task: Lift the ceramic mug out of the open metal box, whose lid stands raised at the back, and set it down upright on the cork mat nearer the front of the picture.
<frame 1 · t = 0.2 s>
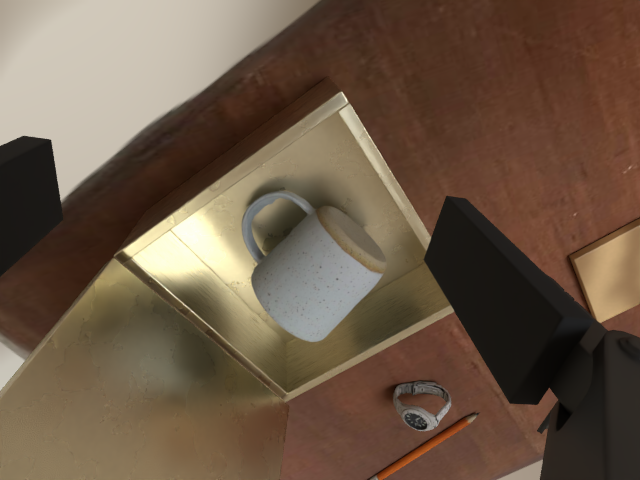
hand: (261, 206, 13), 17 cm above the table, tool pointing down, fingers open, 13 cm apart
wristwatch: (416, 385, 44), on the table
pencil: (419, 445, 50), on the table
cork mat: (630, 264, 38), on the table
open metal box: (302, 235, 33), on the table
ceramic mug: (302, 238, 32), point 1 cm above the table, touching open metal box
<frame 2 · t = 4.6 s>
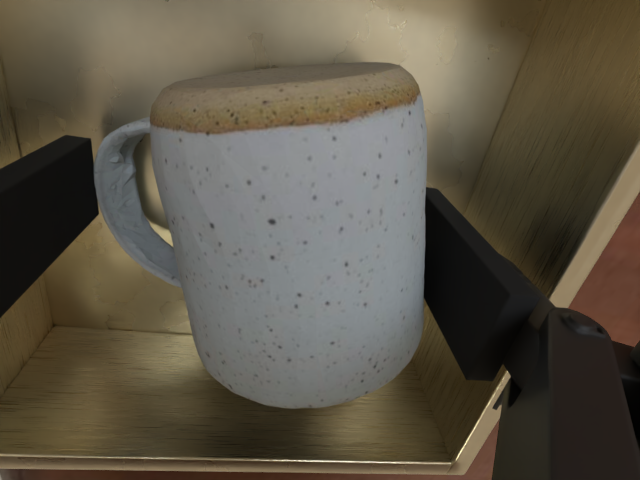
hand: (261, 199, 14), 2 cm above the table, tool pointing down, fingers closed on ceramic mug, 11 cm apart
open metal box: (263, 178, 16), on the table
ceramic mug: (261, 184, 15), point 1 cm above the table, touching gripper, open metal box
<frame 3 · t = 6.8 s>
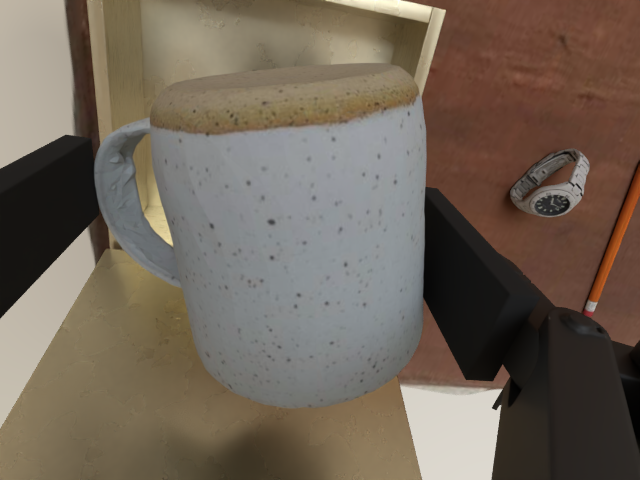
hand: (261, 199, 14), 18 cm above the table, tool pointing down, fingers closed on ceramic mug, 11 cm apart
wristwatch: (535, 174, 34), on the table
pencil: (611, 236, 38), on the table
box lid: (228, 408, 21), point 16 cm above the table, hinge at 100.0°
open metal box: (264, 119, 29), on the table
ceramic mug: (261, 184, 15), point 16 cm above the table, touching gripper
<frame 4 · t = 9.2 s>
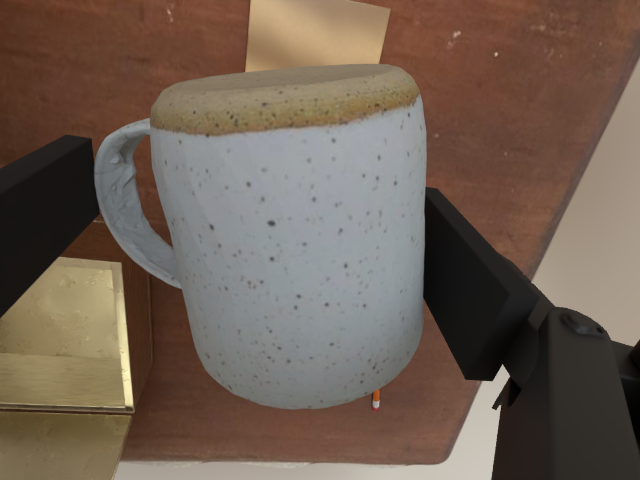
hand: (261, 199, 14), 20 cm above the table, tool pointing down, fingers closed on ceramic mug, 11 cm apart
pencil: (376, 353, 46), on the table
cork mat: (311, 69, 30), on the table
open metal box: (52, 290, 38), on the table
ceramic mug: (261, 184, 15), point 18 cm above the table, touching gripper
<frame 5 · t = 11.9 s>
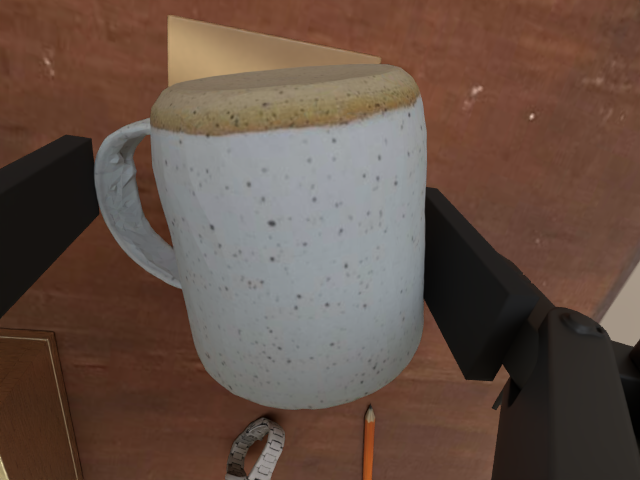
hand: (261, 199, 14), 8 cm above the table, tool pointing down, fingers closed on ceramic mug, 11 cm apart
wristwatch: (258, 427, 33), on the table
pencil: (366, 461, 37), on the table
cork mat: (267, 138, 21), on the table
ceramic mug: (261, 184, 15), point 7 cm above the table, touching gripper
when the fingers open (2 cm above the table, at t = 14.0 s): ceramic mug stays where it is, resting on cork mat.
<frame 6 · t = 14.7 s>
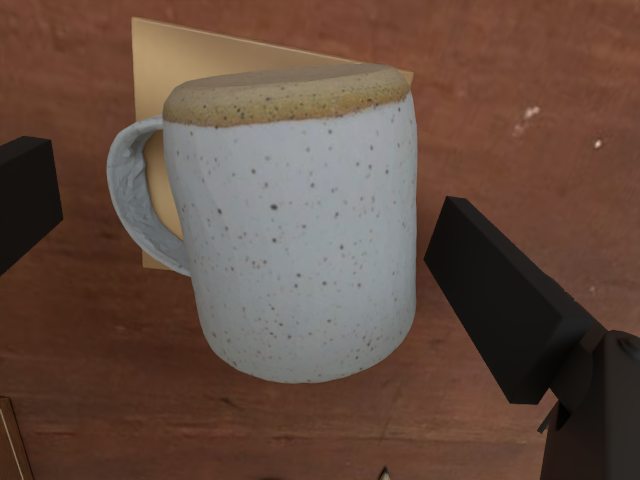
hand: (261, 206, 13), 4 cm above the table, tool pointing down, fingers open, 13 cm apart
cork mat: (266, 173, 16), on the table
ceramic mug: (263, 178, 16), point 1 cm above the table, touching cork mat
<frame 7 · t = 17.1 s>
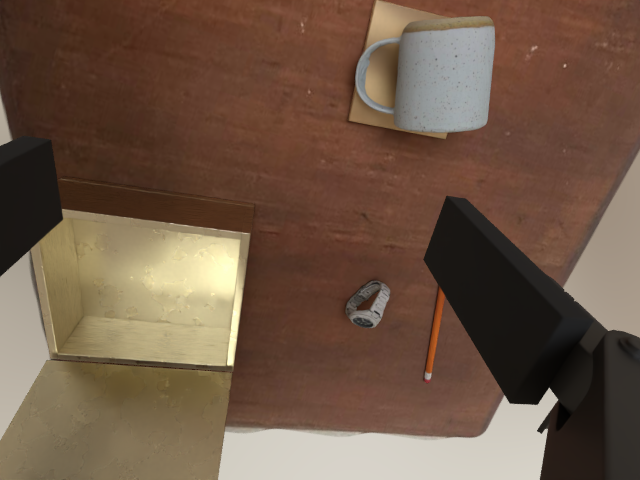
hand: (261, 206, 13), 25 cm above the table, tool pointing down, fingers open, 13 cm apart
wristwatch: (364, 291, 48), on the table
pencil: (433, 328, 52), on the table
box lid: (113, 473, 35), point 16 cm above the table, hinge at 100.0°
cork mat: (411, 74, 36), on the table
open metal box: (162, 262, 43), on the table
ceramic mug: (412, 75, 35), point 1 cm above the table, touching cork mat
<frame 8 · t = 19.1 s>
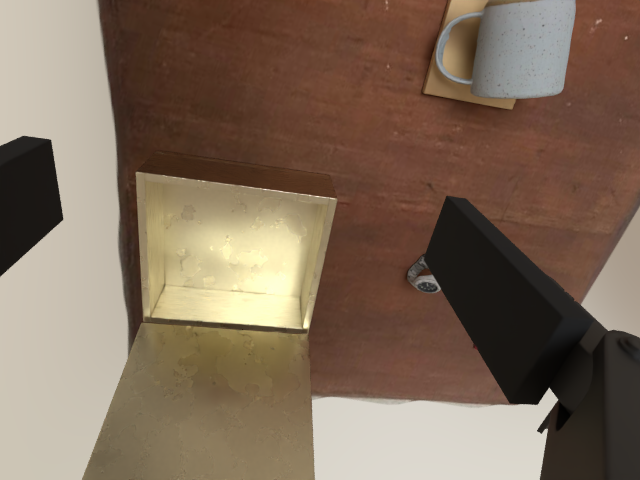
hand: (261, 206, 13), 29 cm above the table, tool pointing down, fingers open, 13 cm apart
wristwatch: (424, 260, 50), on the table
box lid: (214, 421, 38), point 16 cm above the table, hinge at 100.0°
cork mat: (483, 48, 38), on the table
open metal box: (240, 233, 46), on the table
ceramic mug: (485, 49, 38), point 1 cm above the table, touching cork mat
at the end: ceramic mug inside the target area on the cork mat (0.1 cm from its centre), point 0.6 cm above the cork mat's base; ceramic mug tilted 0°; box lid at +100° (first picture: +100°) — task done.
